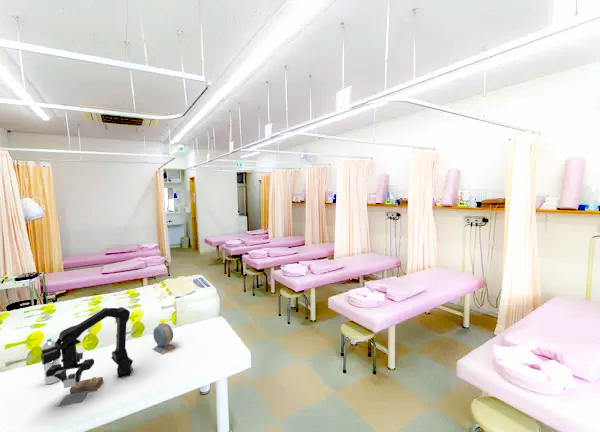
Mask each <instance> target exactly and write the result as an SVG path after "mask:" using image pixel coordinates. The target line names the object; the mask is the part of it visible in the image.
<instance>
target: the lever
mask: <svg viewBox="0 0 600 432" xmlns="http://www.w3.org/2000/svg"><path fill="white" fill-rule="evenodd" d="M98 378H99V377H95V376H94V377H92V378H90V379H91V381H90V382H89V383H90V386H95V385H97V383H98V382H99V380H98Z"/></svg>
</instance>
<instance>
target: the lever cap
mask: <svg viewBox="0 0 600 432" xmlns="http://www.w3.org/2000/svg"><path fill="white" fill-rule="evenodd" d="M66 376H67V377H66V378H65V379H64V381H63V382H64V383H63V382H62V383H63V388H64V389H67V388H71V387H73V386H76V385H77V384H78V382H77V378H76V372H75V373H69V374H67V375H66ZM80 381H82V378H80Z"/></svg>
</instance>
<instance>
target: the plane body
mask: <svg viewBox="0 0 600 432" xmlns="http://www.w3.org/2000/svg"><path fill="white" fill-rule="evenodd" d="M97 378H98V380H99V382H98V383H97V385H95V386H90V383H89V382H90V381H91V379H92V378H90V379H89V378H88V379H81V380H80V381H79V382H78V384H77V385H76V386H73V387H69V388H70V389H69V394H74V393H79V392H84V391H88V392H90V391H96V390H99V389H100V388H101V386H102V384H103V383H104V378H103V376H100V377H97Z"/></svg>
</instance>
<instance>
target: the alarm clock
mask: <svg viewBox="0 0 600 432" xmlns="http://www.w3.org/2000/svg"><path fill="white" fill-rule="evenodd" d="M152 335H153V339H154V342H155V343H156V346H155V347H153V348H152V350H153V351H154V352H157V353H158V354H160V355H164V354H167V353H168V352H170V351H172V350H174V349H177V347H176V346H175V345H173V344H171V342H172V341H173V339H174V332H173V329H172V327H171V326H170V324H169V323H164V322H161V323H159V324H157V326H155V327H154V329H153V334H152Z"/></svg>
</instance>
